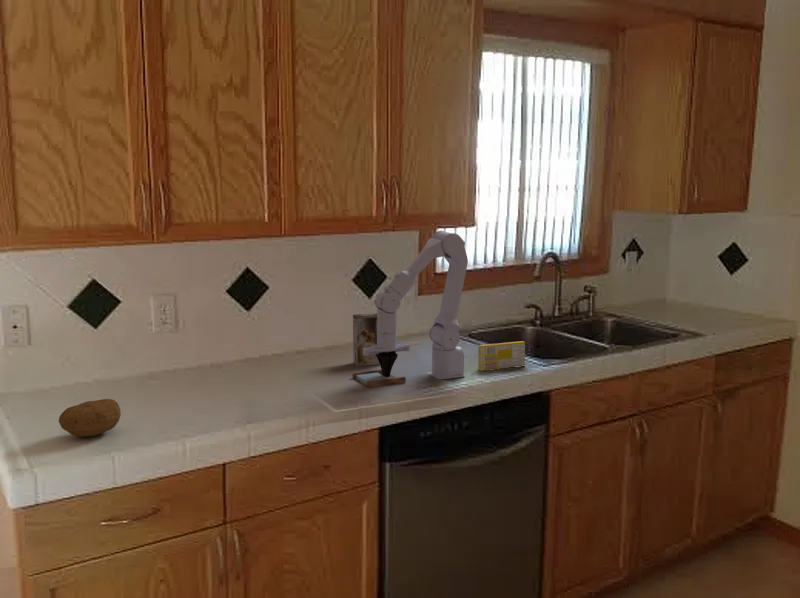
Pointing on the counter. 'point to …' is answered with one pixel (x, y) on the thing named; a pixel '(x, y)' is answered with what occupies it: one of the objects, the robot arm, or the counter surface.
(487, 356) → the candy box
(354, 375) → the tray
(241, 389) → the counter surface
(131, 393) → the counter surface
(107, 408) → the potato
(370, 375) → the cover plate
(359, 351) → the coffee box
